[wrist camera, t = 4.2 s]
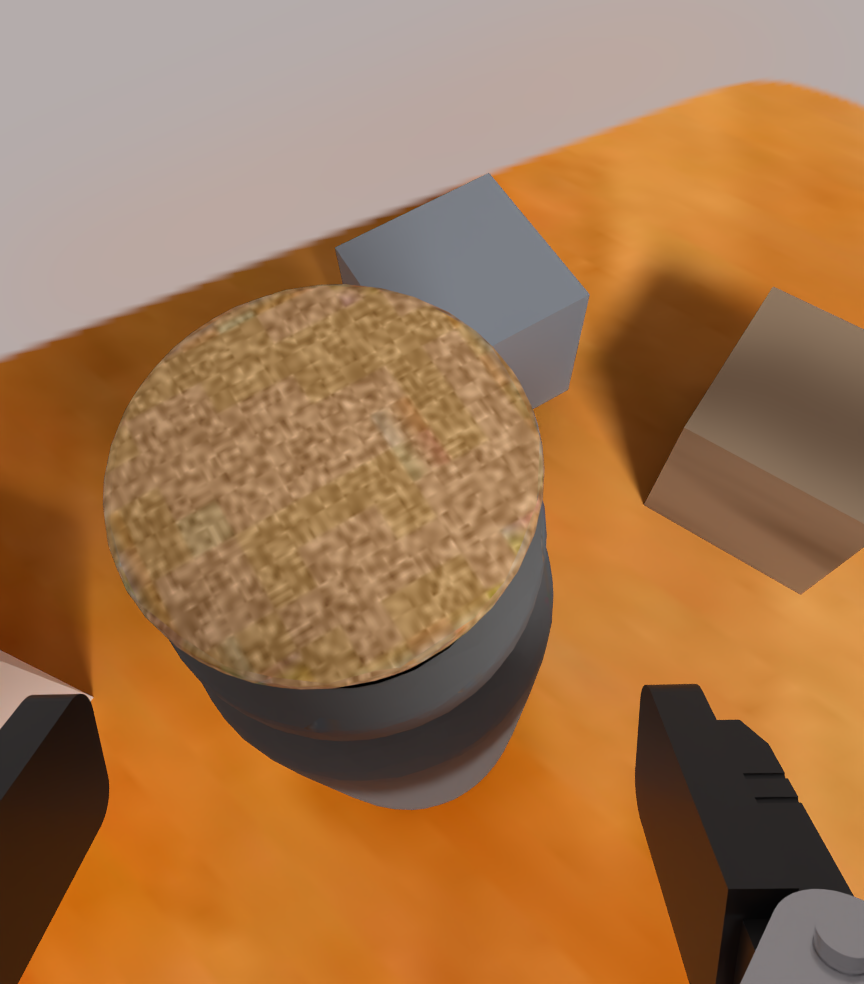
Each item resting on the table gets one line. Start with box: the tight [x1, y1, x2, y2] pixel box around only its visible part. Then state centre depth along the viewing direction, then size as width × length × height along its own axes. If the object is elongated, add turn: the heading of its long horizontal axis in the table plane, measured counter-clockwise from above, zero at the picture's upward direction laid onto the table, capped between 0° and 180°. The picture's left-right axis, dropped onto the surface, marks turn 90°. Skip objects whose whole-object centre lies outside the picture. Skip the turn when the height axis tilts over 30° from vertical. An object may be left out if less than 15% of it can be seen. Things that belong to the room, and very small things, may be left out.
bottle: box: [103, 284, 553, 810], centre depth 15 cm, size 6×6×15 cm
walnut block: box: [644, 287, 864, 595], centre depth 22 cm, size 5×5×5 cm
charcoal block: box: [335, 173, 590, 409], centre depth 24 cm, size 5×5×5 cm
